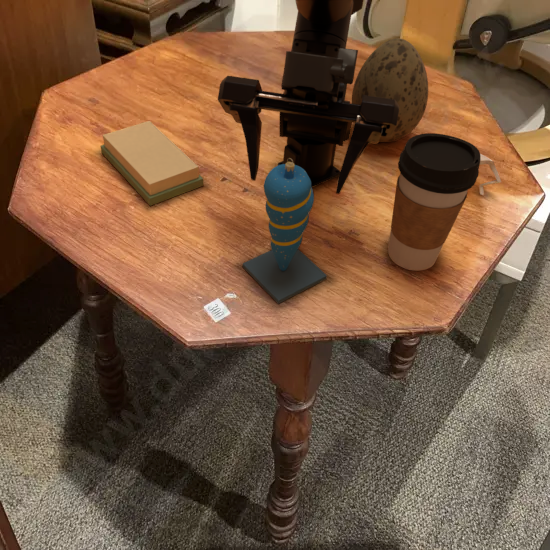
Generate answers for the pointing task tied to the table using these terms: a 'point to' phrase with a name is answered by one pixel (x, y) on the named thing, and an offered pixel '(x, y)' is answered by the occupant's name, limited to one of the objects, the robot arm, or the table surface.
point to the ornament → (287, 209)
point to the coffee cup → (429, 196)
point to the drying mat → (284, 275)
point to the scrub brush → (151, 162)
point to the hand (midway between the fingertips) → (295, 186)
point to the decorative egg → (395, 83)
